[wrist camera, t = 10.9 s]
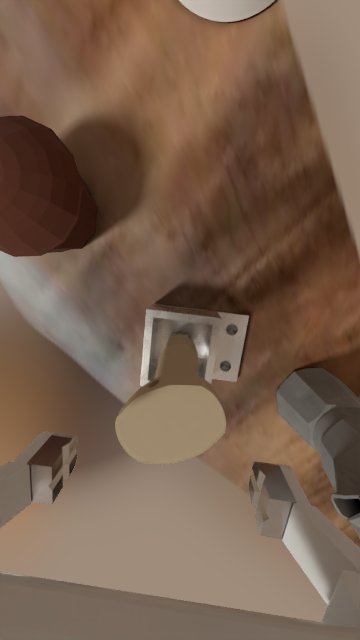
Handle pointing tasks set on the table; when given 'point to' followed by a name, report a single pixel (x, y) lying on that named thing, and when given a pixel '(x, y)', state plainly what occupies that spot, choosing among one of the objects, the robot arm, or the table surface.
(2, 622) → the robot arm
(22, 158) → the muffin
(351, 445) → the coffeepot
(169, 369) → the handle
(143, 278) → the table surface
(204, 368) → the flanged open box
